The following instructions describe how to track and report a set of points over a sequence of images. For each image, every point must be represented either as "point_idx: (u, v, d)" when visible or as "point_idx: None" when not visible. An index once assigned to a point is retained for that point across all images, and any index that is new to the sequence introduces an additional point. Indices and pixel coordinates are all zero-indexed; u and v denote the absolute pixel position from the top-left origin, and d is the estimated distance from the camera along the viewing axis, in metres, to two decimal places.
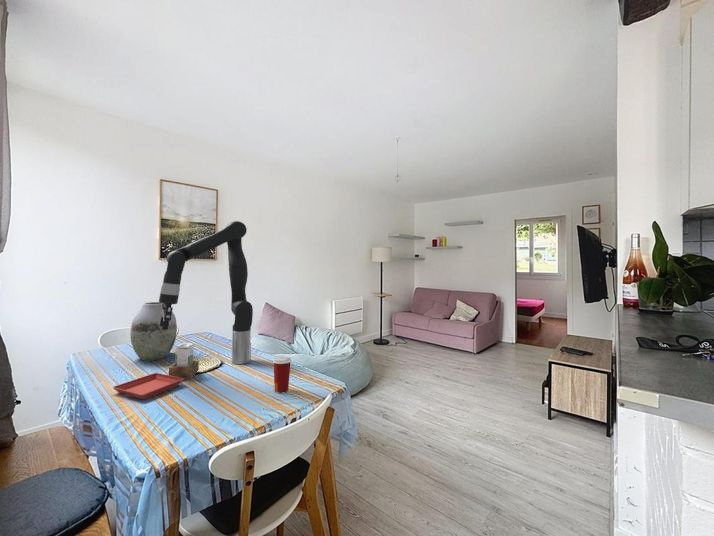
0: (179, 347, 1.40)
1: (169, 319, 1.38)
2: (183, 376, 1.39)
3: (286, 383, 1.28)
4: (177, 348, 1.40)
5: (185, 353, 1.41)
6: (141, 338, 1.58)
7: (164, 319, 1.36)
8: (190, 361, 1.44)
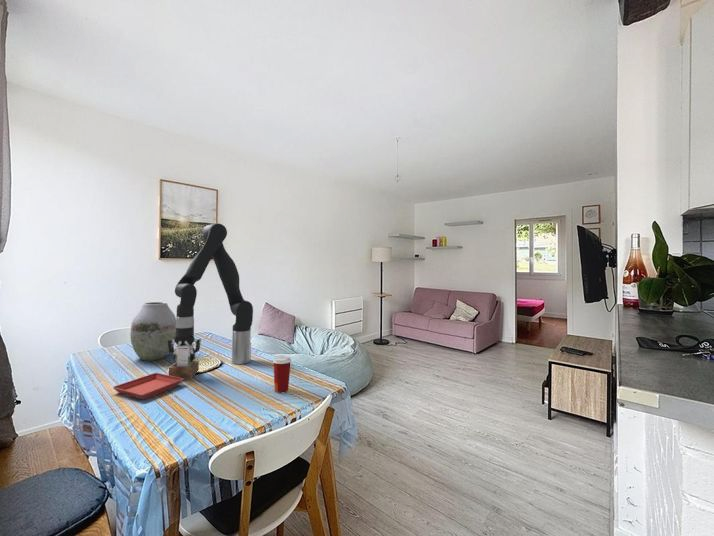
0: (179, 347, 1.40)
1: (198, 350, 1.45)
2: (183, 376, 1.39)
3: (286, 383, 1.28)
4: (177, 348, 1.40)
5: (185, 353, 1.41)
6: (141, 338, 1.58)
7: (197, 351, 1.43)
8: None
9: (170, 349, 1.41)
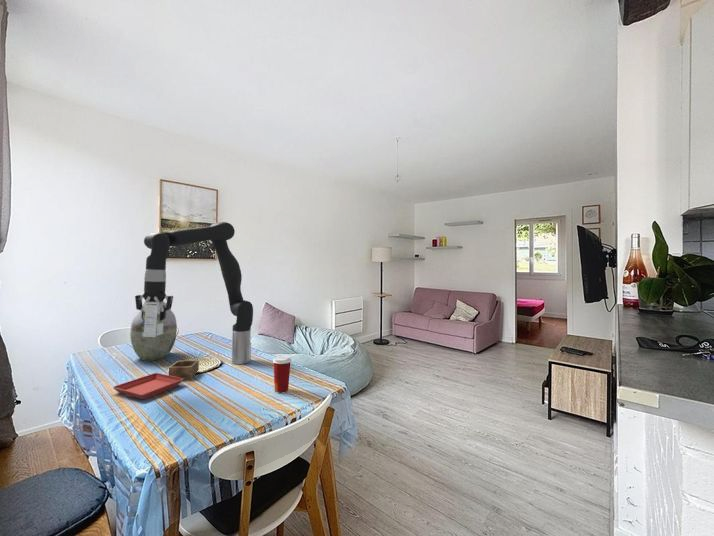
0: (147, 303, 1.26)
1: (170, 308, 1.30)
2: (183, 376, 1.39)
3: (286, 383, 1.28)
4: (145, 304, 1.26)
5: (154, 310, 1.26)
6: (141, 338, 1.58)
7: (168, 309, 1.28)
8: None
9: (138, 305, 1.26)
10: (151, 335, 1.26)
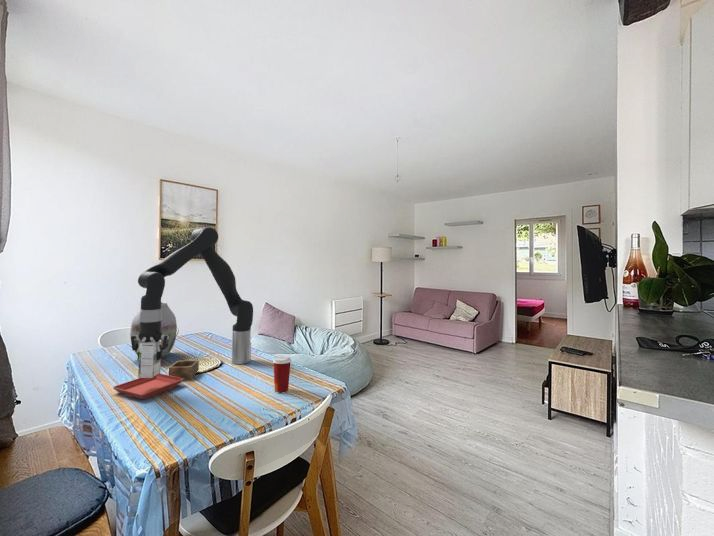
0: (143, 344, 1.24)
1: (166, 347, 1.29)
2: (183, 376, 1.39)
3: (286, 383, 1.28)
4: (141, 345, 1.24)
5: (150, 350, 1.25)
6: None
7: (164, 348, 1.27)
8: None
9: (133, 346, 1.25)
10: (148, 376, 1.25)
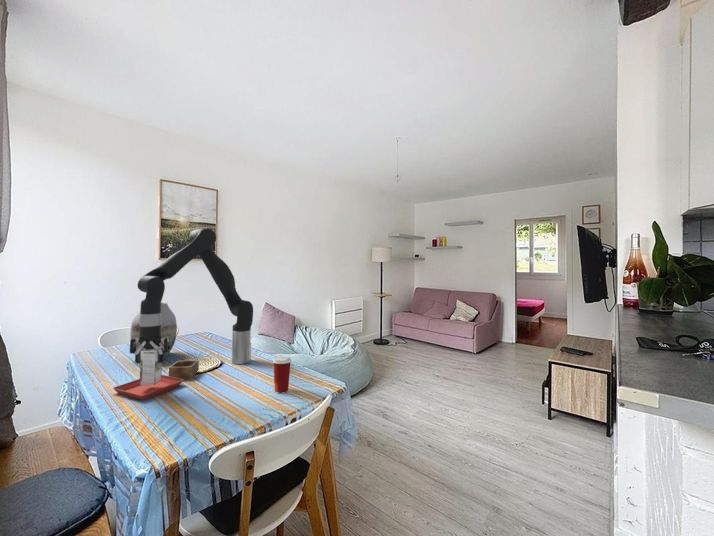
0: (145, 351, 1.24)
1: (169, 349, 1.29)
2: (183, 376, 1.39)
3: (286, 383, 1.28)
4: (142, 352, 1.24)
5: (152, 358, 1.25)
6: None
7: (167, 351, 1.27)
8: (158, 367, 1.28)
9: (131, 349, 1.25)
10: (149, 383, 1.25)
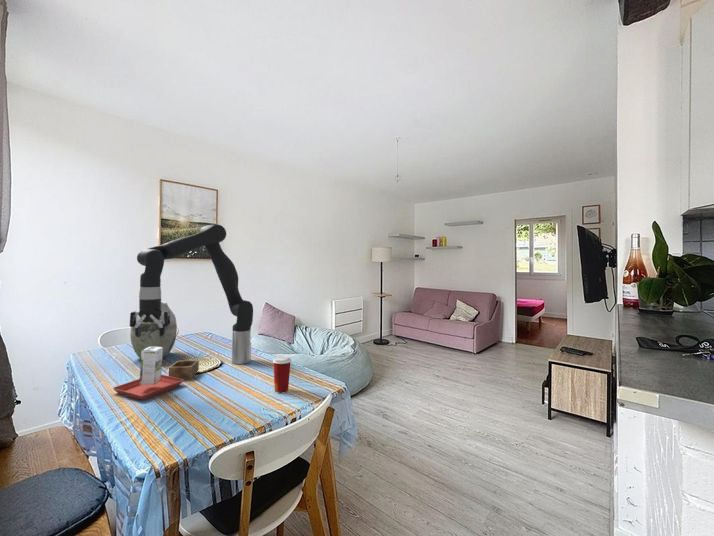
0: (145, 351, 1.25)
1: (169, 323, 1.29)
2: (183, 376, 1.39)
3: (286, 383, 1.28)
4: (143, 352, 1.24)
5: (152, 358, 1.25)
6: (141, 338, 1.58)
7: (167, 325, 1.27)
8: (158, 367, 1.28)
9: (131, 322, 1.24)
10: (149, 383, 1.25)
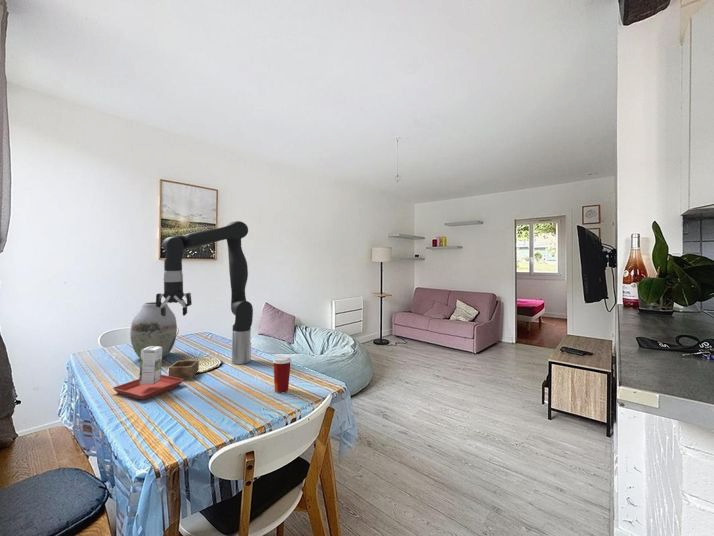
0: (145, 350, 1.25)
1: (191, 304, 1.43)
2: (183, 376, 1.39)
3: (286, 383, 1.28)
4: (143, 352, 1.25)
5: (152, 357, 1.25)
6: (141, 338, 1.58)
7: (189, 304, 1.41)
8: (158, 366, 1.28)
9: (157, 303, 1.38)
10: (149, 383, 1.25)
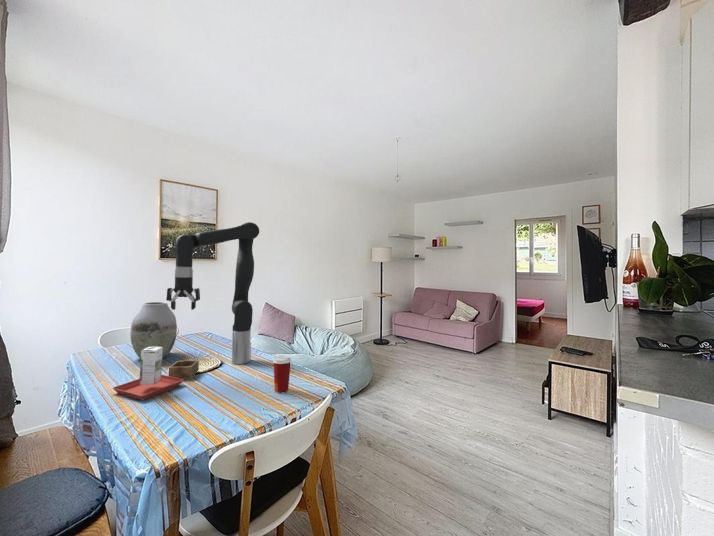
0: (145, 351, 1.25)
1: (199, 299, 1.50)
2: (183, 376, 1.39)
3: (286, 383, 1.28)
4: (143, 352, 1.24)
5: (152, 358, 1.25)
6: (141, 338, 1.58)
7: (198, 299, 1.48)
8: (158, 366, 1.28)
9: (168, 297, 1.46)
10: (149, 383, 1.25)
